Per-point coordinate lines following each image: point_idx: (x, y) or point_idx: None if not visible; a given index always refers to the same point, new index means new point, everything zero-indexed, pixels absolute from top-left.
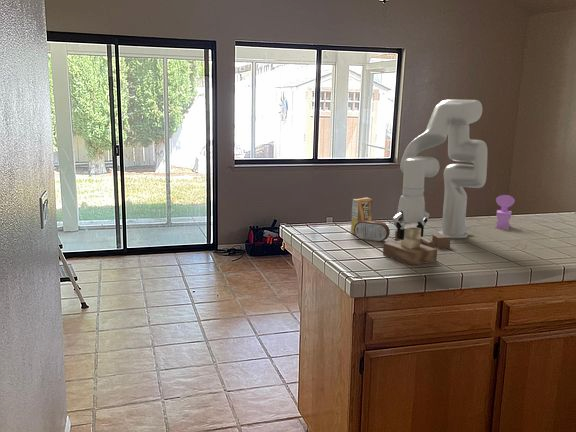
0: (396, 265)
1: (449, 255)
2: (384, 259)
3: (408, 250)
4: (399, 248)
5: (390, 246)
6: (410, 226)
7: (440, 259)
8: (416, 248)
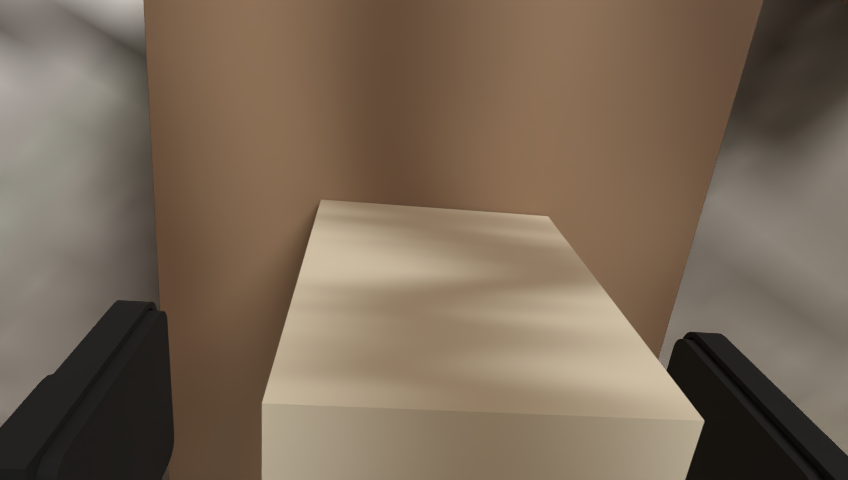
0: (46, 365)
1: (840, 394)
2: (56, 119)
3: (210, 450)
4: None
5: (157, 97)
6: (595, 459)
7: None
8: None
